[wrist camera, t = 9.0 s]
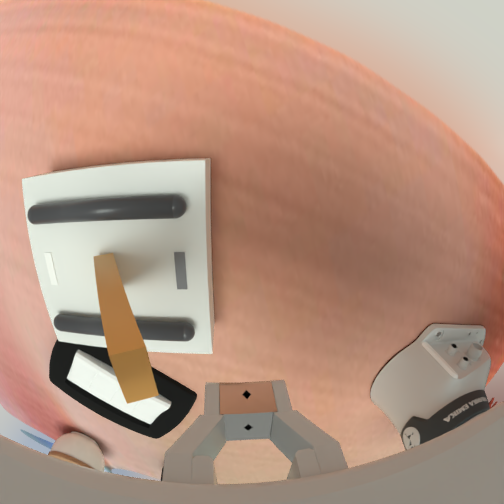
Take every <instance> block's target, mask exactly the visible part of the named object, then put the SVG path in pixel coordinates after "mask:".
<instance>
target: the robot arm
mask: <svg viewBox="0 0 504 504" xmlns="http://www.w3.org/2000/svg"><path fill="white" fill-rule="evenodd" d="M485 334H486V329H485V328H484V327H483V326H480V325H453V324H432V325H430V326H429V327H428V328H426V329H425V331H424V332H423V333H422V334H421V335H420V336H419V337H418V339H417V340H416V341H415V342H414V343H412V344H411V345H410V346H408V347H407V348H405V349H404V350H402V351H401V352H400V353H399V354H397V355H396V356H395V357H394V358H393V359H392V360H391V361H390V362H389V363H388V364H387V365H386V366H385V367H384V368H383V369H382V370H381V372H380V373H379V374H378V376H377V377H376V379H375V381H374V383H373V385H372V388H371V393H370V396H371V400H372V402H373V403H374V404H375V405H376V406H377V407H378V408H380V409H381V410H382V412H383V413H384V414H385V415H386V416H387V417H388V418H389V420H390V421H391V422H392V423H393V425H394V426H395V428H396V429H397V430H398V432H399V434H400V435H401V438H402V442H403V444H404V447H405V451H403V452H400V453H397V454H394V455H391V456H388V457H386V458H382V459H379V460H376V461H373V462H370V463H366V464H363V465H359V466H355V467H351V468H348V466H347V463H346V461H345V458H344V455H343V452H342V450H341V447H340V444H339V442H338V441H336V440H335V439H333V438H332V437H331V436H329V435H328V434H327V433H325V432H324V431H323V430H321V429H320V428H319V427H317V426H316V425H315V424H313V423H312V422H311V421H309V420H308V419H307V418H306V417H304V416H303V415H302V414H300V413H299V412H298V411H297V410H294V411H293V410H292V406H291V403H290V399H289V395H288V391H287V387H286V384H285V381H284V380H274V381H259V382H245V383H206V385H205V407H204V415H200V416H199V417H198V418H197V419H196V420H195V421H194V423H193V424H192V425H191V426H190V427H189V428H188V429H187V430H186V431H185V432H184V433H183V434H182V436H181V437H180V438H179V439H178V440H177V441H176V442H175V443H174V444H173V445H172V446H171V447H170V448H169V449H168V450H167V451H166V452H165V460H164V469H163V478H162V481H155V480H147V479H140V478H134V477H128V476H123V475H118V474H113V473H108V472H104V471H99V470H95V469H91V468H87V467H84V466H80V465H77V464H73V463H70V462H67V461H64V460H61V459H58V458H55V457H52V456H49V455H46V454H43V453H41V452H38V451H36V450H33V449H30V448H28V447H26V446H23V445H21V444H19V443H17V442H15V441H12V440H10V439H8V438H6V437H4V436H2V435H0V504H504V402H501V403H499V404H497V405H496V403H497V402H495V404H494V405H493V406H492V407H491V404H492V403H493V400H494V398H492V400H491V401H490V402H489V403H488V400H487V397H486V394H485V391H484V389H485V386H486V382H487V378H488V374H489V370H490V366H491V358H490V355H489V354H488V352H487V351H486V350H485V349H484V347H483V343H484V340H485ZM248 439H270V440H271V441H272V442H273V443H274V444H275V445H276V447H277V448H278V449H279V450H280V451H281V452H282V453H283V454H284V455H285V456H286V457H287V458H288V459H289V460H290V461H291V462H292V465H291V468H290V471H289V474H288V477H287V480H282V481H273V482H262V483H247V484H218V483H217V478H216V473H215V467H214V462H213V461H214V459H215V458H216V456H217V455H218V453H219V452H220V450H221V449H222V447H223V446H224V444H225V443H226V441H231V440H248Z"/></svg>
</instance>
